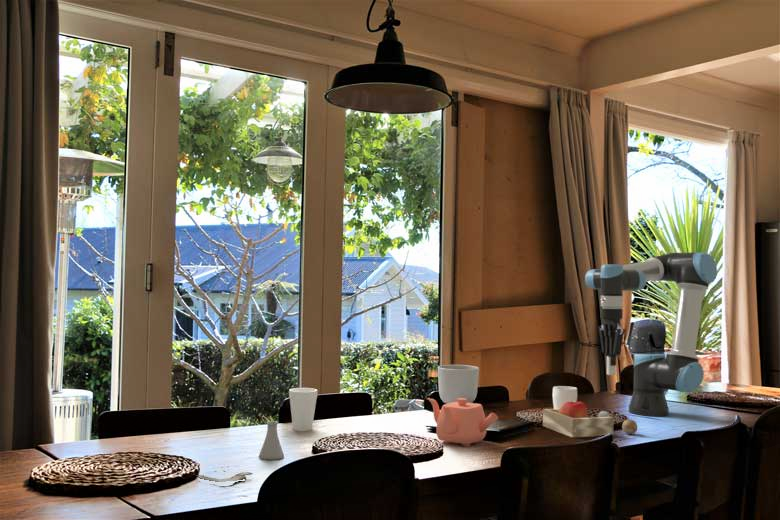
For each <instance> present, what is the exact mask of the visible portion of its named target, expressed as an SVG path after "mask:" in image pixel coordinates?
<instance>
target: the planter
mask: <svg viewBox="0 0 780 520" xmlns="http://www.w3.org/2000/svg"><path fill="white" fill-rule="evenodd" d="M479 374H480V367H478V366H475V365H466V364H442V365H438V366H437V379H438V380H437V382H438V393H439V394H438V395H439V397H440V400H442V402H443V403H444V404H447V403H452V402H458V401H457V399H458V398H465V399H468V400H467V403H474V401H475V399H476V398H477V394H478V387H479V386H478V384H479Z"/></svg>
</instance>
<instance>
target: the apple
mask: <svg viewBox="0 0 780 520" xmlns="http://www.w3.org/2000/svg"><path fill="white" fill-rule="evenodd" d="M559 413H560V414H563V415H566V416H569V417H572V418H589V417H588V416H589V415H588V413H589V412H588V408H587V405H586V404H585V403H584V402H582V401H578V400H577V402H573V401H572V402H566V403H564V404H563V405H562V406H561V408H560V410H559Z"/></svg>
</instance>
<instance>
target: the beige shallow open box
mask: <svg viewBox="0 0 780 520" xmlns="http://www.w3.org/2000/svg"><path fill="white" fill-rule="evenodd" d="M559 410H560V409H554V408H543V409H542V427H545V428H547V429H549V430H552V431H554V432H557V433H559V434H562V435H565V436H567V437H570V438H587V437H588V438H589V437H603V436H602V435H605V434H608V433H613V434H614V416H610V417H598V416H597V417H596V416H595V417H587V418H572V417H569V416H566V415H563V414H560V413H559Z"/></svg>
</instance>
